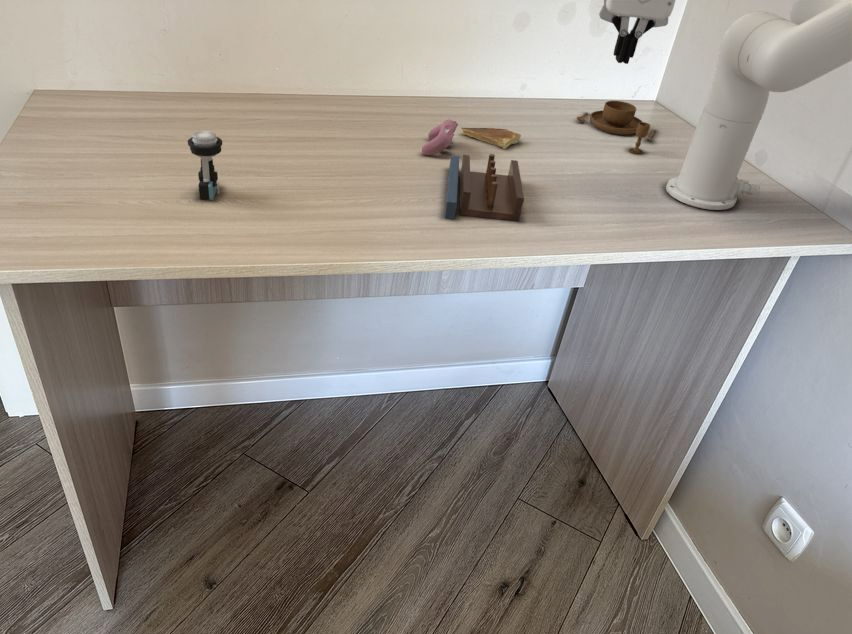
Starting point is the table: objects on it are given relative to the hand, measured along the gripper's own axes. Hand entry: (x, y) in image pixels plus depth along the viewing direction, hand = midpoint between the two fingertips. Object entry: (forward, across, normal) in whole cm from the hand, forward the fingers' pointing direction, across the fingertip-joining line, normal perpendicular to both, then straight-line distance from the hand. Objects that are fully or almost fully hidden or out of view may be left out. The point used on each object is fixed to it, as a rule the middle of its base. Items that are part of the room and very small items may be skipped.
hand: (621, 61), depth 113 cm
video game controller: (+23, -28, +12) cm, 38 cm away
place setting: (+23, +10, +34) cm, 42 cm away
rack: (+23, -18, -8) cm, 31 cm away
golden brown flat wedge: (+23, -17, +20) cm, 35 cm away
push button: (+23, -65, -19) cm, 72 cm away
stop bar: (+23, -25, -8) cm, 35 cm away
